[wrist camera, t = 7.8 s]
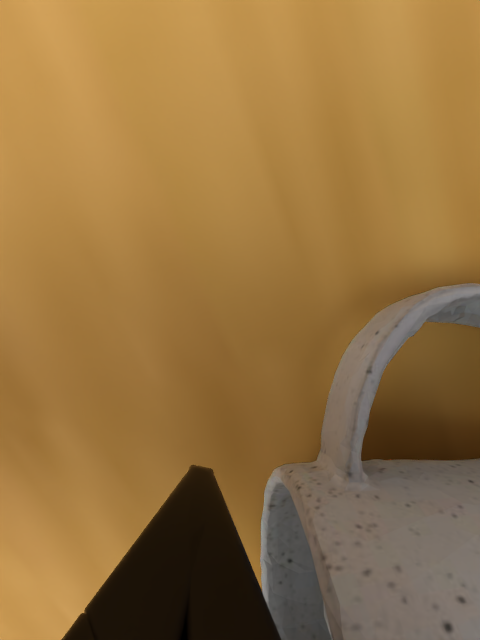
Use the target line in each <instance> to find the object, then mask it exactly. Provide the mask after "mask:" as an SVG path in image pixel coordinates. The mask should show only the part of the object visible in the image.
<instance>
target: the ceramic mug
mask: <svg viewBox="0 0 480 640" xmlns="http://www.w3.org/2000/svg"><path fill="white" fill-rule="evenodd" d="M424 322H442V323H455V324H463V325H469V326H474V327H479V328H480V284H474V283H467V284H459V285H451V286H444V287H437V288H435V289H432V290H429V291H426V292H423V293H420V294H416V295H412V296H410V297H407V298H405V299H402V300H400V301H398V302H395V303H393V304H391V305H389V306H387V307H386V308H384V309H383V310H381V311H380V312H378V313H377V314H376V315H375V316H374V317H373V318H372V319H371V320H370V321H369V322H368V323H367V324H366V325H365V327H364V328H363V329H362V330H361V331H360V332H359V333H358V334H357V335H356V336H355V337H354V338H353V340H352V341H351V342H350V344H349V346H348V347H347V349H346V351H345V352H344V354H343V356H342V358H341V360H340V363H339V365H338V368H337V370H336V372H335V375H334V380H333V383H332V386H331V389H330V392H329V396H328V400H327V405H326V410H325V415H324V420H323V426H322V431H321V449H320V452H319V454H318V457H317V460H316V461H313V462H306V463H292V464H284V465H282V466H279V467H277V468H276V469H274V470H273V472H272V474H271V476H270V478H269V479H268V481H267V485H266V488H265V491H264V508H263V513H262V518H261V558H260V562H261V570H262V575H261V581H262V593H263V596H264V598H265V601H266V603H267V605H268V608H269V610H270V613H271V615H272V618H273V620H274V622H275V625H276V627H277V630H278V632H279V635H280V637H281V640H480V458H478V459H467V460H447V461H445V460H409V459H399V460H382V459H372V460H367V461H361V450H362V443H363V438H364V435H365V432H366V429H367V427H368V420H369V413H370V409H371V406H372V403H373V400H374V397H375V394H376V391H377V388H378V386H379V383H380V380H381V377H382V374H383V371H384V370H385V368H386V366H387V364H388V363H389V362H390V361H391V359H392V358H393V357H394V355H395V354H396V353H397V352H398V350H399V349H400V348H401V347H402V345H403V344H404V343H405V341H406V340H407V339H408V338H409V337H411V336H414V334H415V333H416V332H417V331H418V330H419V329H420V328H421V326H422V325H423V323H424Z"/></svg>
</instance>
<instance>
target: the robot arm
mask: <svg viewBox="0 0 480 640" xmlns="http://www.w3.org/2000/svg"><path fill="white" fill-rule="evenodd" d="M62 640H281V637H280V635H279V632H278V630H277V627H276V625H275V622H274V620H273V618H272V615H271V613H270V610H269V608H268V605H267V603H266V601H265V598H264V596H263V593H262V591H261V588H260V586H259V583H258V581H257V579H256V576H255V574H254V571H253V569H252V566H251V564H250V561H249V559H248V557H247V554H246V552H245V549H244V547H243V544H242V542H241V539H240V537H239V535H238V532H237V530H236V527H235V525H234V522H233V520H232V518H231V515H230V513H229V510H228V508H227V505H226V503H225V500H224V498H223V496H222V493H221V491H220V488H219V486H218V483H217V481H216V478H215V476H214V472H213V470H212V469H211V468H206V467H201V466H196V465H191V466H190V467H189V470H188V472H187V473H186V474H185V476H184V477H183V478H182V480H181V481H180V482H179V484H178V485H177V486H176V488H175V489H174V490H173V492H172V493H171V494H170V496H169V497H168V499H167V500H166V501H165V503H164V504H163V505H162V507H161V508H160V509H159V511H158V512H157V513H156V515H155V516H154V517H153V519H152V520H151V521H150V523H149V524H148V525H147V527H146V528H145V529H144V531H143V532H142V533H141V535H140V536H139V537H138V539H137V540H136V541H135V543H134V544H133V545H132V547H131V548H130V549H129V551H128V552H127V553H126V555H125V556H124V557H123V559H122V560H121V561H120V563H119V564H118V565H117V567H116V568H115V569H114V571H113V572H112V573H111V575H110V576H109V577H108V579H107V580H106V581H105V583H104V584H103V585H102V587H101V588H100V589H99V591H98V592H97V593H96V595H95V596H94V597H93V599H92V600H91V601H90V603H89V604H88V605H87V607H86V608H85V611H84V613H82V614H80V616H79V617H78V618H77V620H76V621H75V622H74V624H73V625H72V626H71V628H70V629H69V630H68V632H67V633H66V634H65V636H64V637H63V638H62Z"/></svg>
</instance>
